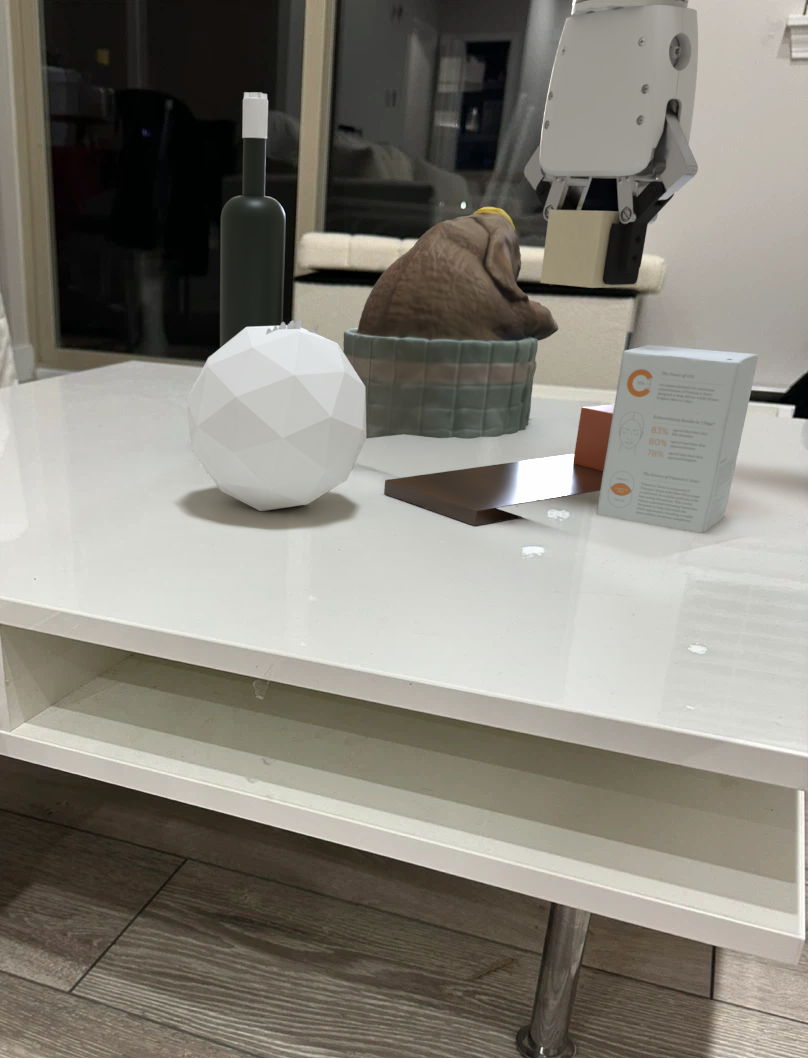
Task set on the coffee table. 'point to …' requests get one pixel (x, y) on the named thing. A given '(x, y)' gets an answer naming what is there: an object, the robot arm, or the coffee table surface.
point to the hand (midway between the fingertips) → (588, 278)
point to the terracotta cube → (593, 436)
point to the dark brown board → (495, 487)
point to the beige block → (577, 248)
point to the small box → (675, 435)
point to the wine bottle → (252, 237)
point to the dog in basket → (450, 335)
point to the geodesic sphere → (277, 416)
